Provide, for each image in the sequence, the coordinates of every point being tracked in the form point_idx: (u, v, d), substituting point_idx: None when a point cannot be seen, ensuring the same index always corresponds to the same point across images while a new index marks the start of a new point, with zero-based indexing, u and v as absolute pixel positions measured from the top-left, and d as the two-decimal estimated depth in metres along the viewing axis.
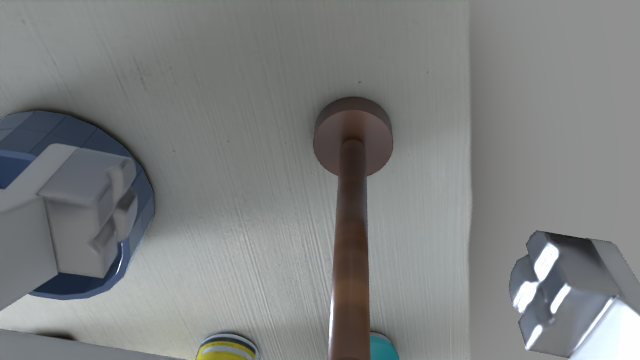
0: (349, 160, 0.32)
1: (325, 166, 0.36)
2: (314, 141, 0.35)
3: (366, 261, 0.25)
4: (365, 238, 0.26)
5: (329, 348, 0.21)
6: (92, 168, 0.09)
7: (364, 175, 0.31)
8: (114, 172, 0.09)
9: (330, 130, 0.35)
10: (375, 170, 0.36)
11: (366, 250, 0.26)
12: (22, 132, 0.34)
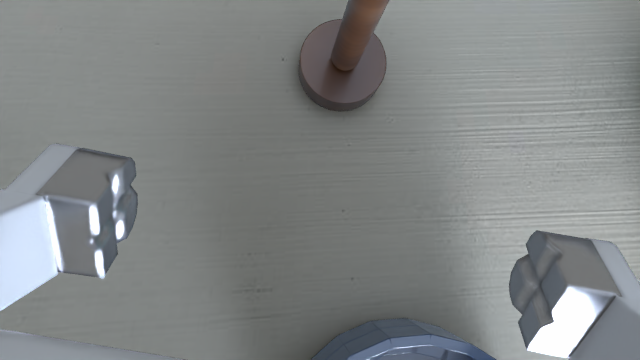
0: (336, 42, 0.29)
1: (368, 93, 0.32)
2: (335, 101, 0.32)
3: None
4: None
5: None
6: (92, 168, 0.09)
7: None
8: (114, 172, 0.09)
9: (323, 82, 0.32)
10: (376, 39, 0.33)
11: None
12: None
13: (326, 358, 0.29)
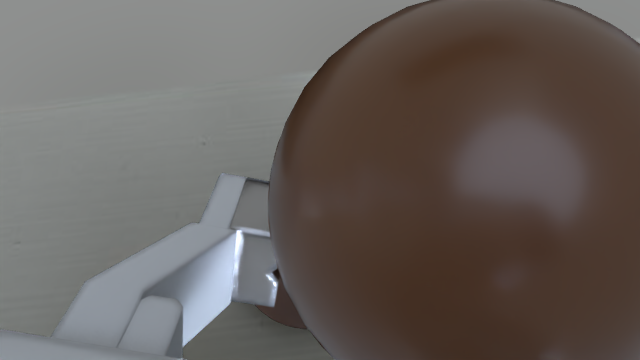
0: None
1: None
2: (299, 326, 0.19)
3: None
4: None
5: None
6: None
7: None
8: None
9: (277, 295, 0.20)
10: None
11: None
12: None
13: None
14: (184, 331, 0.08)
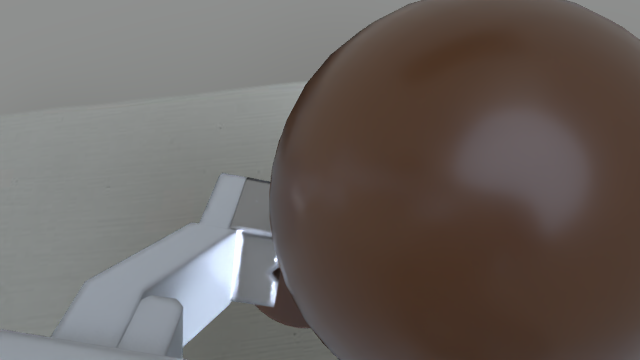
0: None
1: None
2: (299, 325, 0.19)
3: None
4: None
5: None
6: (268, 199, 0.09)
7: None
8: None
9: (277, 295, 0.20)
10: None
11: None
12: None
13: None
14: (184, 331, 0.08)
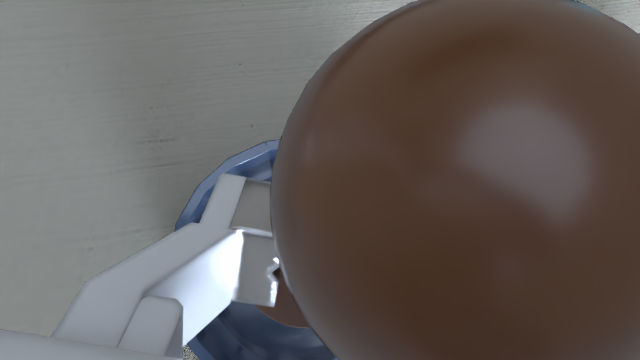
0: None
1: None
2: (299, 325, 0.19)
3: None
4: None
5: None
6: (268, 199, 0.09)
7: None
8: None
9: (277, 295, 0.20)
10: None
11: None
12: None
13: None
14: (184, 331, 0.08)
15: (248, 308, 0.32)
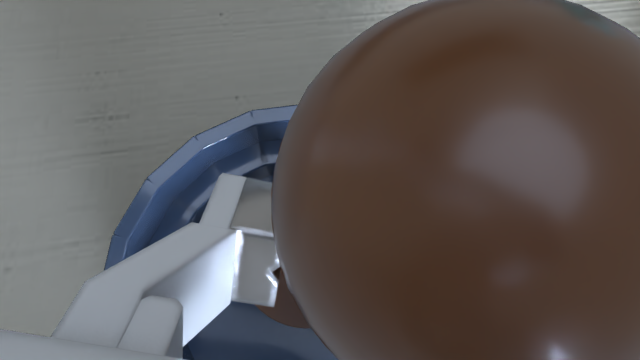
0: None
1: None
2: (299, 326, 0.19)
3: None
4: None
5: None
6: (268, 199, 0.09)
7: None
8: None
9: (277, 295, 0.20)
10: None
11: None
12: None
13: None
14: (184, 331, 0.08)
15: (230, 355, 0.22)
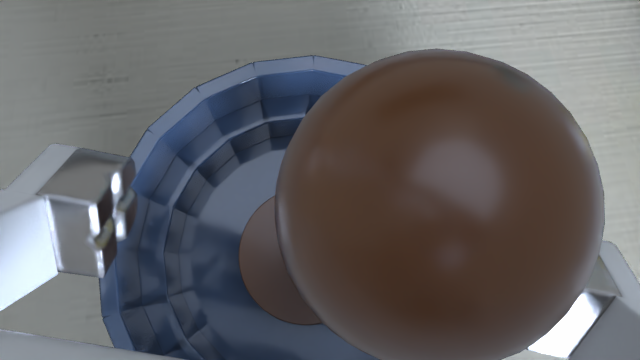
0: None
1: None
2: (299, 322, 0.20)
3: None
4: None
5: None
6: (92, 168, 0.09)
7: None
8: (114, 172, 0.09)
9: (277, 293, 0.20)
10: None
11: None
12: None
13: None
14: None
15: (230, 316, 0.22)
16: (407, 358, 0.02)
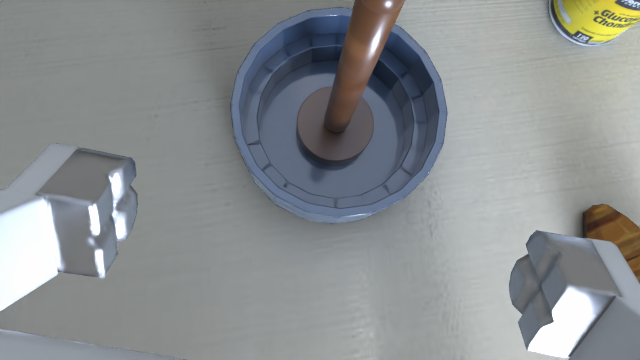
0: (327, 112, 0.33)
1: (360, 149, 0.36)
2: (331, 159, 0.36)
3: None
4: None
5: (370, 21, 0.19)
6: (92, 168, 0.09)
7: None
8: (114, 172, 0.09)
9: (319, 143, 0.36)
10: (363, 101, 0.37)
11: None
12: None
13: None
14: None
15: (290, 163, 0.38)
16: (378, 5, 0.18)
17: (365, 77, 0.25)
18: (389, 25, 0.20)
